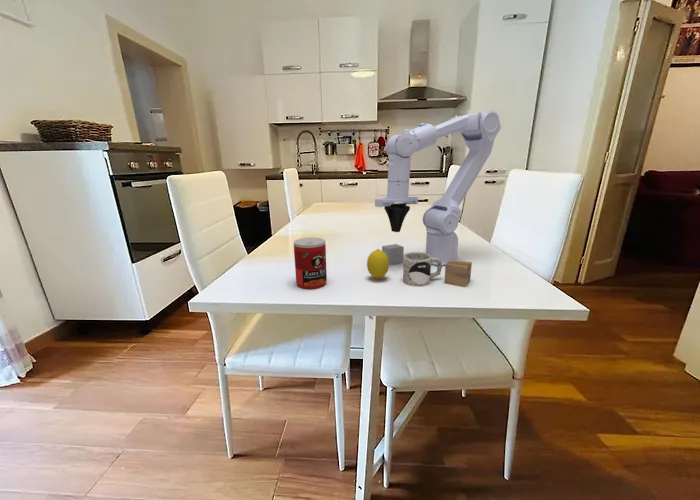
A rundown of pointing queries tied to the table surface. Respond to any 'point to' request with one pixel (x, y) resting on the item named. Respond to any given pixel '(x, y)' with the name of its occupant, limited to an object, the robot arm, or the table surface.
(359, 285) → the table surface
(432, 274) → the mug
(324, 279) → the canned food
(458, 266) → the walnut block
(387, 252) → the grey block
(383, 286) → the table surface
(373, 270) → the lemon
